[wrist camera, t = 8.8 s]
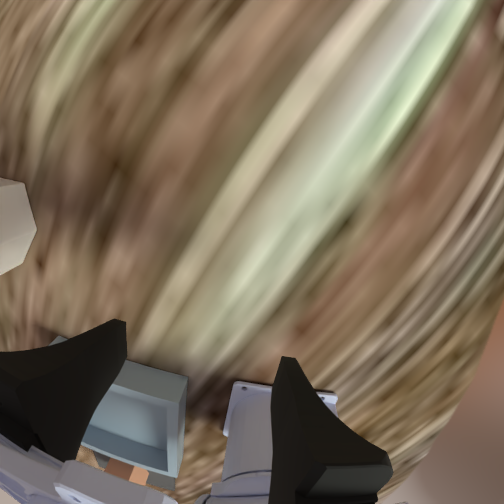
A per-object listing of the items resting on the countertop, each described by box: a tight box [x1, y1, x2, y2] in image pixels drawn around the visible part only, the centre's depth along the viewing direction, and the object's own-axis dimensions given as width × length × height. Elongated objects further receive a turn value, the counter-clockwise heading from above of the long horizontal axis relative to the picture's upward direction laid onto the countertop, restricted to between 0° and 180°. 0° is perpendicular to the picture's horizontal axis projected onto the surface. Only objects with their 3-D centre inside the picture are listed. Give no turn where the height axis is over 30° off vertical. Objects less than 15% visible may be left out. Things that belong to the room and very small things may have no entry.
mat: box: [93, 450, 175, 491], centre depth 30 cm, size 12×10×1 cm
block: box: [104, 458, 149, 486], centre depth 27 cm, size 4×4×6 cm
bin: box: [48, 336, 188, 478], centre depth 25 cm, size 14×14×4 cm
